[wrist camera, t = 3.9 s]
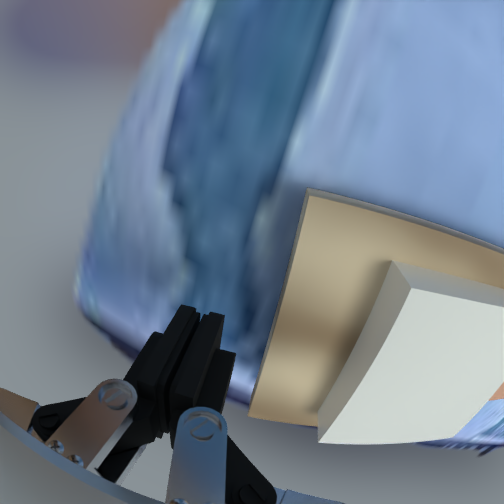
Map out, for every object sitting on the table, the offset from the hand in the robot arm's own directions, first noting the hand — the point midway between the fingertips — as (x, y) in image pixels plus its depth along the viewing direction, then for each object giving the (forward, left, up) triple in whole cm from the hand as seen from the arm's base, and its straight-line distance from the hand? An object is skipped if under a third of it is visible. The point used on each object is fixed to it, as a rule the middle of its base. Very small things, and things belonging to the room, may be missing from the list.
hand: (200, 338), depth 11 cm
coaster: (0, +11, -1) cm, 11 cm away
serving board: (0, +11, -5) cm, 12 cm away
